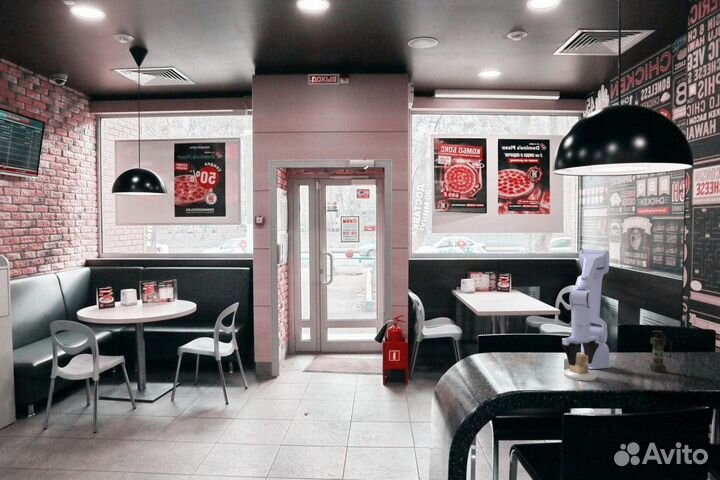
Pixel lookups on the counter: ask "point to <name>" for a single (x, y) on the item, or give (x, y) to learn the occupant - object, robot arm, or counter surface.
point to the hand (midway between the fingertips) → (580, 364)
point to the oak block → (580, 364)
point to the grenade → (658, 351)
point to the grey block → (566, 364)
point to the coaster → (580, 375)
